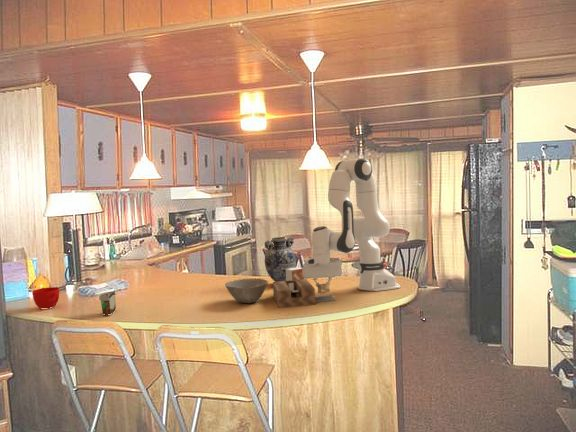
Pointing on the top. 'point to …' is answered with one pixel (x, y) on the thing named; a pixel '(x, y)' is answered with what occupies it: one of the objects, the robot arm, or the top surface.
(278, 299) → the walnut channel block
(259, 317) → the top surface
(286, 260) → the decorative vase
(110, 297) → the food container
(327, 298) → the slate mat
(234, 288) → the ceramic bowl
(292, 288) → the eject lever
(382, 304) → the top surface
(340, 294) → the top surface
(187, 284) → the top surface
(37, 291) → the ceramic cup
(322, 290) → the beech bar
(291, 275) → the small box
